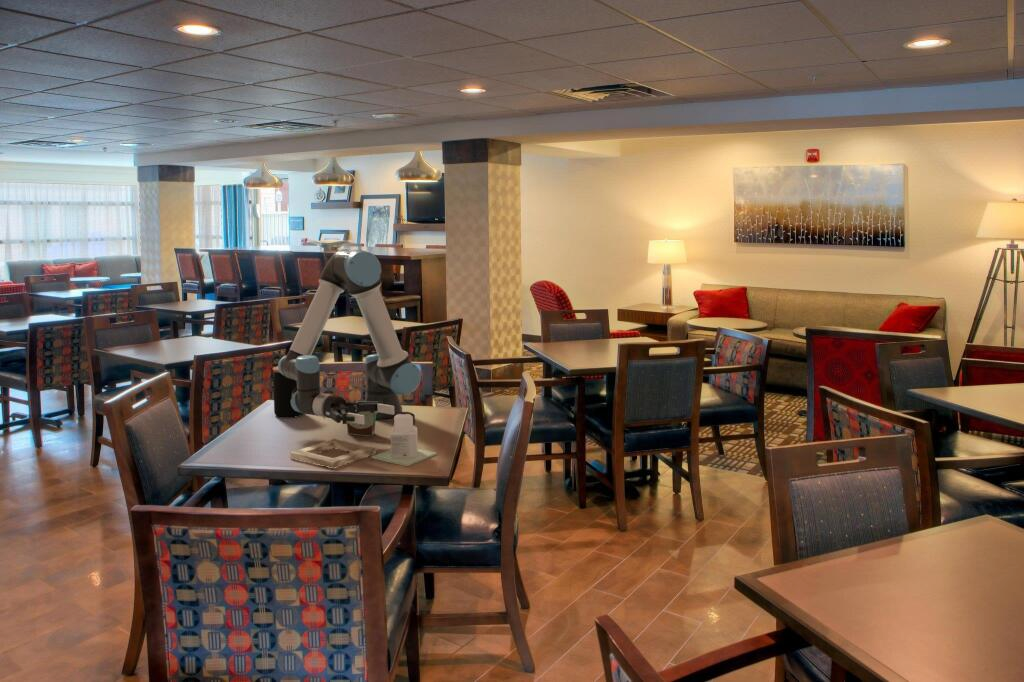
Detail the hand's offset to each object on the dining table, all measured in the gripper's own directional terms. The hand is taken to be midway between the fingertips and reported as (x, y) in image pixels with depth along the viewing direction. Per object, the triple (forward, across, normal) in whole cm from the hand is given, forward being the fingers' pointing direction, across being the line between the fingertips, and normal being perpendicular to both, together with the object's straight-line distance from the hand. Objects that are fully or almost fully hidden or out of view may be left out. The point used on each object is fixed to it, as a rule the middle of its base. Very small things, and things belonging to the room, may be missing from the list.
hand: (379, 415), depth 237 cm
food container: (-19, -13, -12) cm, 26 cm away
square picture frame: (-8, +12, -12) cm, 18 cm away
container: (+10, 0, -11) cm, 15 cm away
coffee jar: (-60, -16, -12) cm, 63 cm away
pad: (+10, 0, -12) cm, 15 cm away
